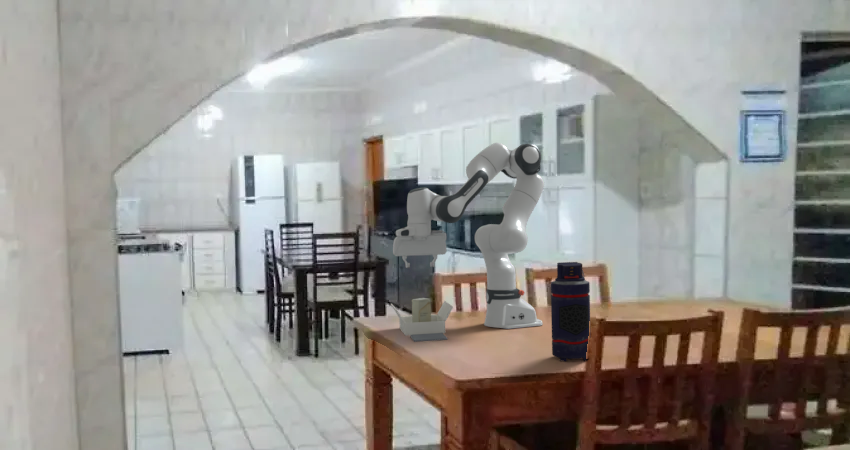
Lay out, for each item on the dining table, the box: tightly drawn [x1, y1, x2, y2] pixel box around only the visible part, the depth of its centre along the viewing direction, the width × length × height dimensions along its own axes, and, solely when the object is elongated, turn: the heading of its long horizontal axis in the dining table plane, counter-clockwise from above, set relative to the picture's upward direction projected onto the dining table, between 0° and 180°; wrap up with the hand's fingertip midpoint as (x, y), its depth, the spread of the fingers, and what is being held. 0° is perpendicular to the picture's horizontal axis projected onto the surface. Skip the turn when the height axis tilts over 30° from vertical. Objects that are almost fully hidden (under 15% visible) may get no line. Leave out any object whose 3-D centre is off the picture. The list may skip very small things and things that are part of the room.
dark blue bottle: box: [550, 261, 591, 363], centre depth 251 cm, size 14×12×30 cm
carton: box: [390, 300, 454, 336], centre depth 304 cm, size 22×15×10 cm
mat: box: [409, 333, 448, 343], centre depth 290 cm, size 12×10×1 cm
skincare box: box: [411, 297, 432, 323], centre depth 304 cm, size 6×4×12 cm
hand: (420, 267), depth 303 cm, fingers open, 8 cm apart
